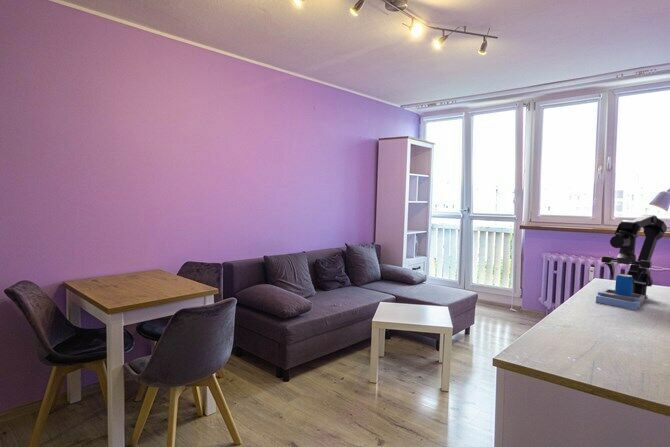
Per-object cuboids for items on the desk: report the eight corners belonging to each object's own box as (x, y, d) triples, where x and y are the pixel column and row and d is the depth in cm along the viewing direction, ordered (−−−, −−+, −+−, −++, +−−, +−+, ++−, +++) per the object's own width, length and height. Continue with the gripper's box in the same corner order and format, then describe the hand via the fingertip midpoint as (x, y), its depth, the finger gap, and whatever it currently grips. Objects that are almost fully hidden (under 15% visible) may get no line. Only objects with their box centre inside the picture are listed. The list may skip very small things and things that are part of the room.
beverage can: (625, 298, 188) (627, 274, 187) (634, 302, 181) (636, 276, 180) (611, 297, 188) (613, 273, 187) (619, 301, 182) (621, 276, 181)
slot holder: (605, 294, 194) (606, 286, 193) (644, 301, 183) (645, 293, 182) (595, 302, 179) (595, 293, 179) (636, 310, 168) (637, 301, 168)
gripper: (600, 246, 184) (597, 278, 185) (650, 251, 170) (646, 285, 172) (605, 244, 191) (602, 275, 193) (653, 249, 178) (650, 282, 179)
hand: (624, 279), depth 184 cm, fingers open, 9 cm apart
